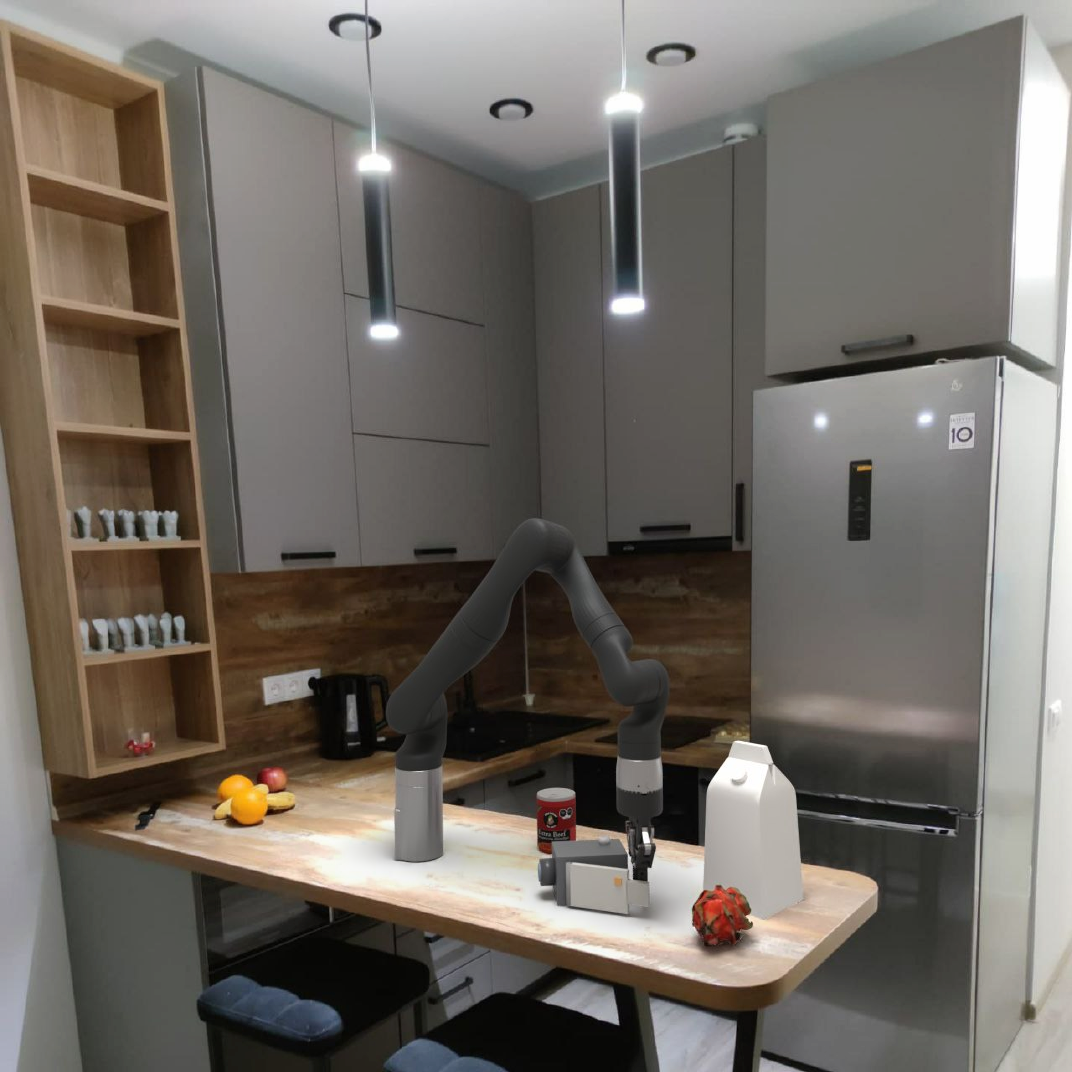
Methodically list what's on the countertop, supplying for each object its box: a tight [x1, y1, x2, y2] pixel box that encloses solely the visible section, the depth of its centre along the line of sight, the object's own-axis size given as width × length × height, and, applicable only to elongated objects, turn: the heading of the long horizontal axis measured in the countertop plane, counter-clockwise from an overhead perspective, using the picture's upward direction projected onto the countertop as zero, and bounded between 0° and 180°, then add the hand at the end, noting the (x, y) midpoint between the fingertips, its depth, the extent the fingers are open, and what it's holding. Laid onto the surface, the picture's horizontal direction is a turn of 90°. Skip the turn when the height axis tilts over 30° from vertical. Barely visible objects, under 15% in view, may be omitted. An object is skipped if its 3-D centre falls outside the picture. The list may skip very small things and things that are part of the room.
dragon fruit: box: [691, 885, 754, 948], centre depth 131 cm, size 8×8×12 cm
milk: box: [702, 740, 804, 920], centre depth 147 cm, size 12×12×26 cm
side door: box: [565, 862, 651, 915], centre depth 142 cm, size 14×1×7 cm, turn 69°
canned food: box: [536, 787, 577, 855], centre depth 173 cm, size 8×8×11 cm
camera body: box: [537, 835, 629, 907], centre depth 149 cm, size 15×8×9 cm, turn 95°
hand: (640, 889), depth 143 cm, fingers closed
